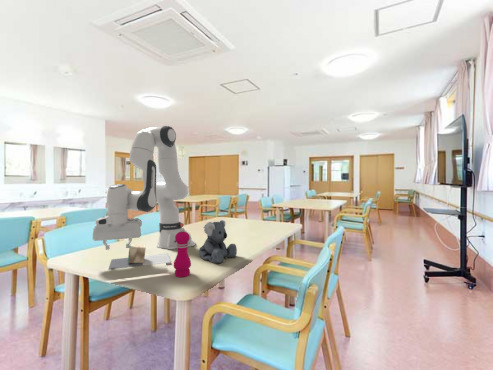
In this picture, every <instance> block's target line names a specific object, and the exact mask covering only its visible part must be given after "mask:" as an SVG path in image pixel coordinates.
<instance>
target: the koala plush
mask: <svg viewBox="0 0 493 370" xmlns="http://www.w3.org/2000/svg"><path fill="white" fill-rule="evenodd" d="M225 227H226V221H225V220H224V219H221V220H220V221H213V222H211V221H208V222H207V223H206V224H204V226H203V232H204V233H205V234H206V236H207V237H206V239H205V241H204V243H203V245H202V246H201V247H199V251H198V252H199V253H198V254H199V256H200V257H201V259H204V260H205V261H209V262H210V263H212V262H213V264H221V263H223V262H224V258H225V257H232V258H236V257H237V245H236V244H235V243H230V244H229V245H228V246H227V245H226V243H225V242H224V241H225V240H226V239H227V237H228V234H227V231H226V228H225ZM235 256H236V257H235Z"/></svg>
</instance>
